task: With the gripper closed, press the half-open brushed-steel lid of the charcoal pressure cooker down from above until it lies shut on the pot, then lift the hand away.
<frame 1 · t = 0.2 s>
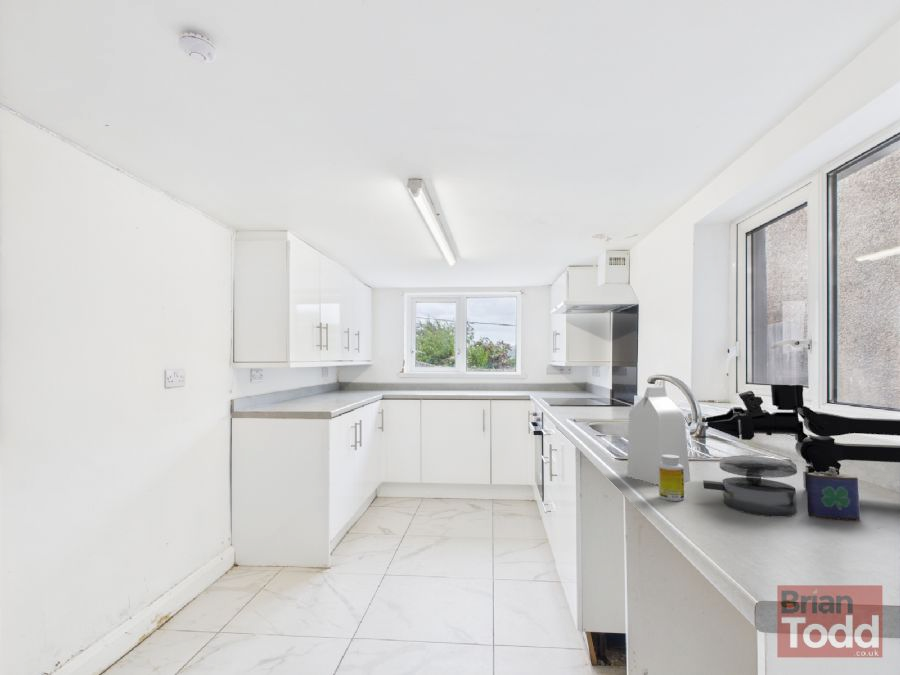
hand: (706, 421, 130), 16 cm above the worktop, tool horizontal, fingers open, 9 cm apart
flask: (833, 518, 99), on the worktop
supplement bottle: (671, 499, 114), on the worktop
cooker pot: (758, 506, 107), on the worktop
milk: (658, 479, 133), on the worktop
cooker lid: (756, 463, 109), point 10 cm above the worktop, hinge at 25.0°
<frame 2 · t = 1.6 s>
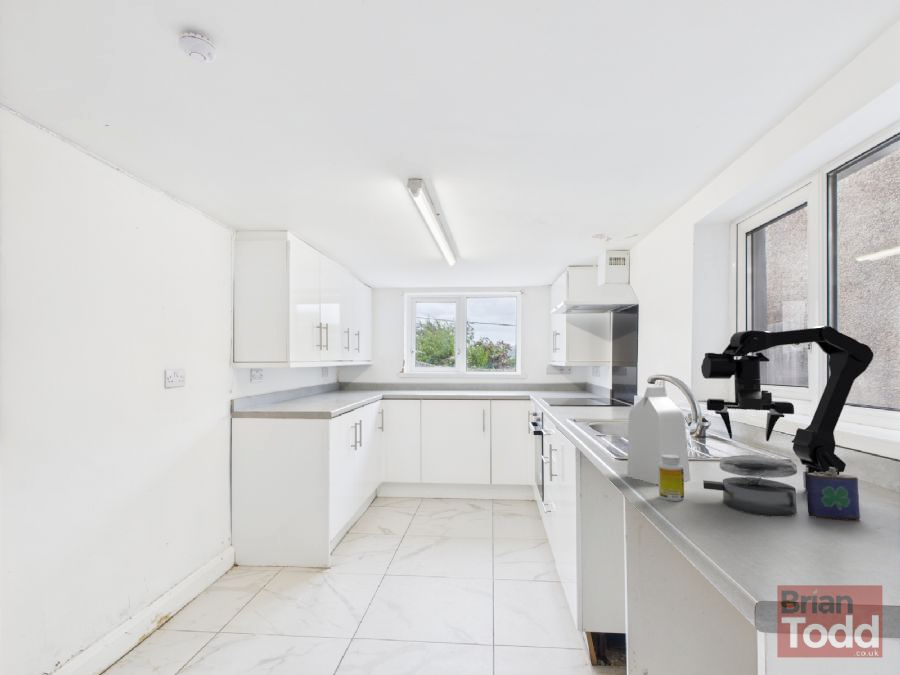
hand: (748, 439, 121), 13 cm above the worktop, tool pointing down, fingers open, 8 cm apart
nothing on the worktop moved.
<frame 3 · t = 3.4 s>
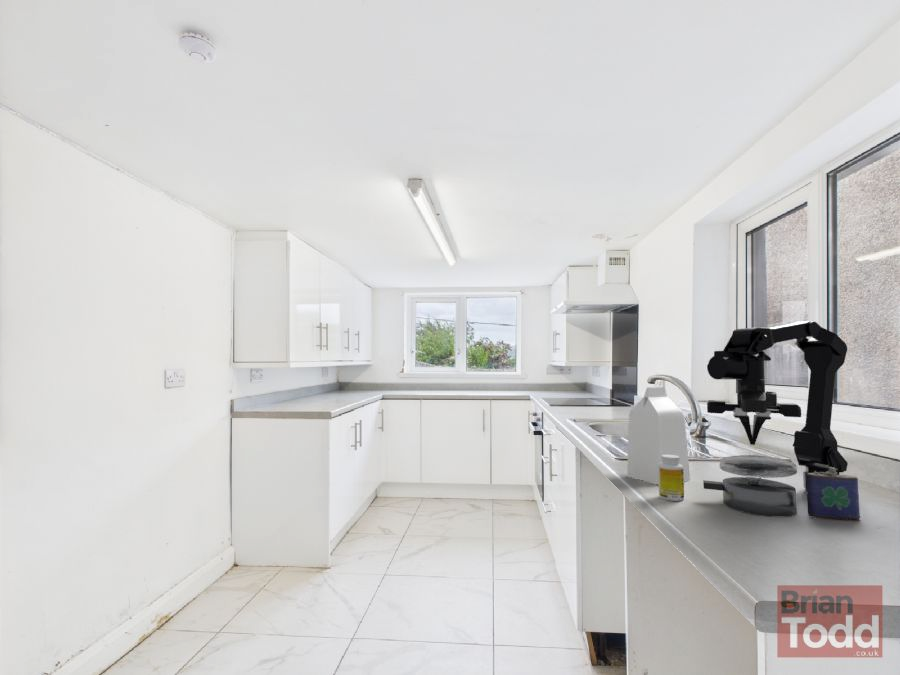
hand: (752, 444, 112), 13 cm above the worktop, tool pointing down, fingers closed
nothing on the worktop moved.
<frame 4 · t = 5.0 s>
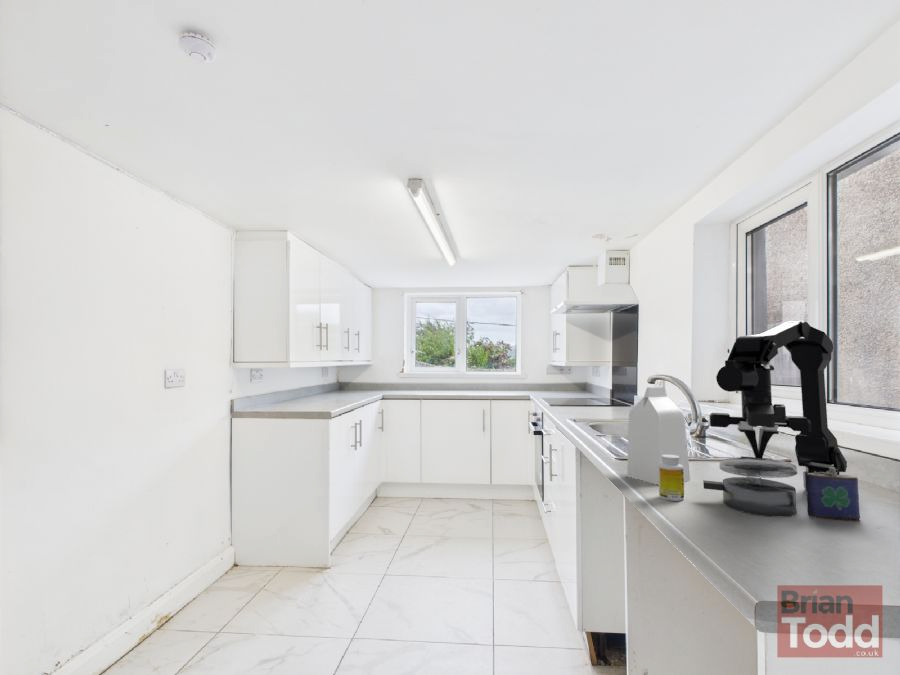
hand: (758, 460, 105), 11 cm above the worktop, tool pointing down, fingers closed, pressing on cooker lid
cooker lid: (756, 464, 108), point 9 cm above the worktop, hinge at 23.0°, touching gripper
everything else where it was.
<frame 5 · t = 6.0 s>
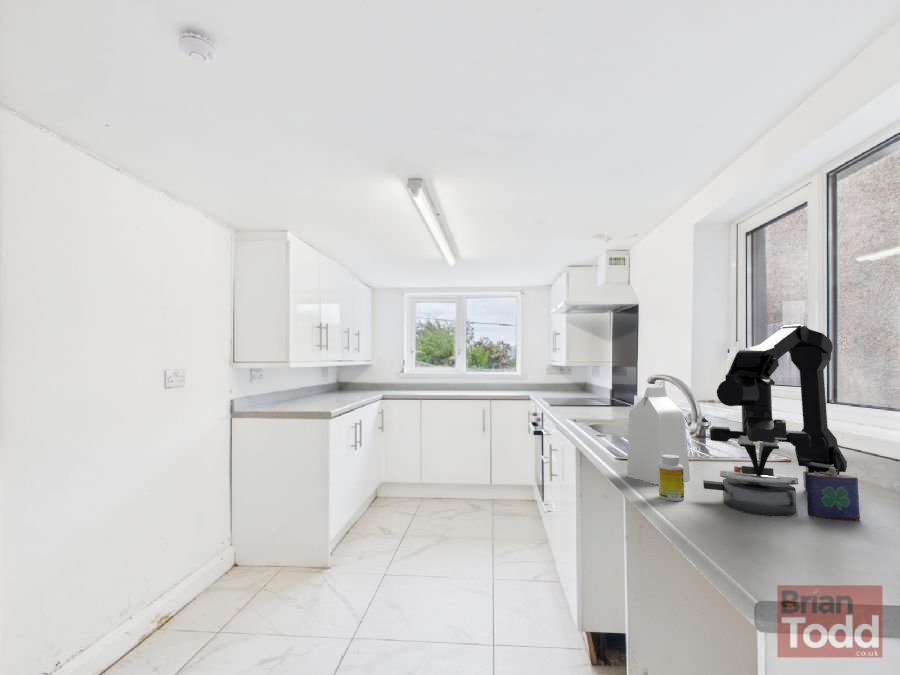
hand: (758, 475, 104), 8 cm above the worktop, tool pointing down, fingers closed, pressing on cooker lid
cooker lid: (757, 473, 108), point 7 cm above the worktop, hinge at 7.6°, touching gripper
everything else where it was.
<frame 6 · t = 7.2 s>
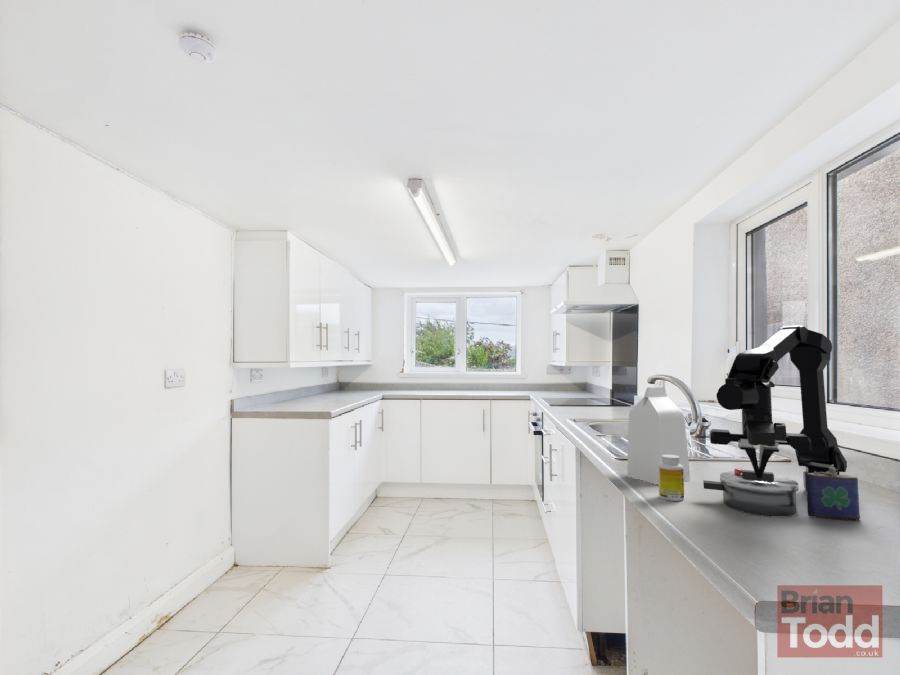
hand: (759, 478, 105), 7 cm above the worktop, tool pointing down, fingers closed
cooker lid: (757, 478, 107), point 6 cm above the worktop, hinge at -0.1°
everything else where it was.
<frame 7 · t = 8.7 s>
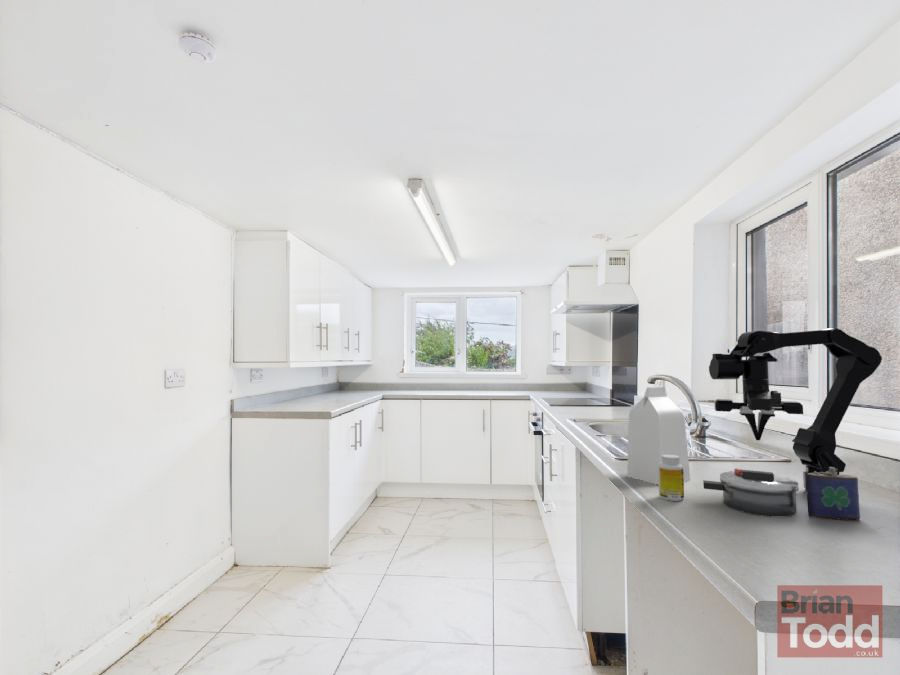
hand: (757, 440, 120), 13 cm above the worktop, tool pointing down, fingers closed
nothing on the worktop moved.
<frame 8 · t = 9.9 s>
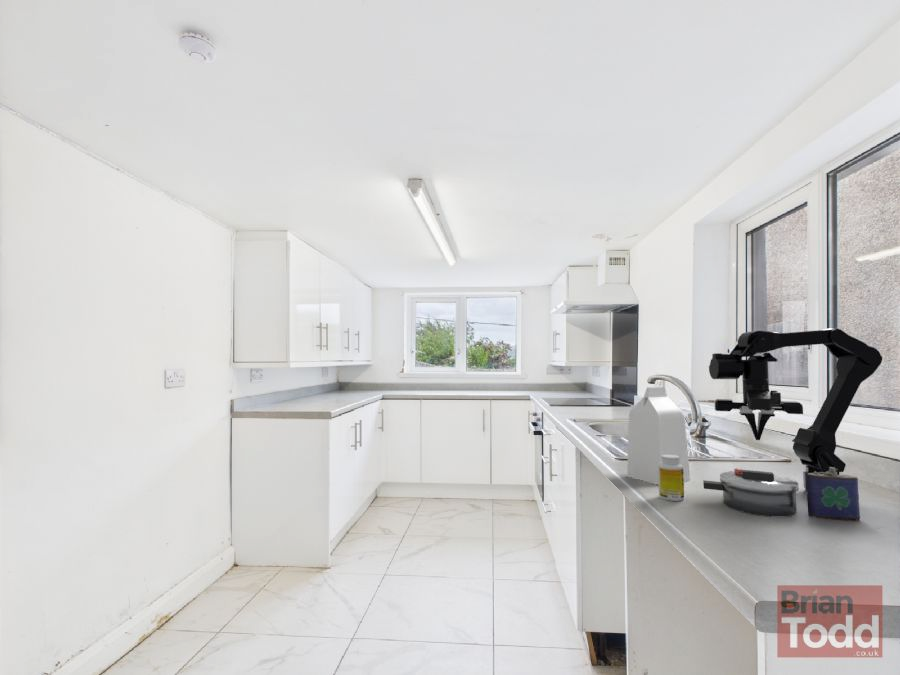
hand: (757, 440, 120), 13 cm above the worktop, tool pointing down, fingers closed
nothing on the worktop moved.
at the end: cooker lid at +0° (first picture: +25°); flask moved 0.3 cm from its start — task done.
